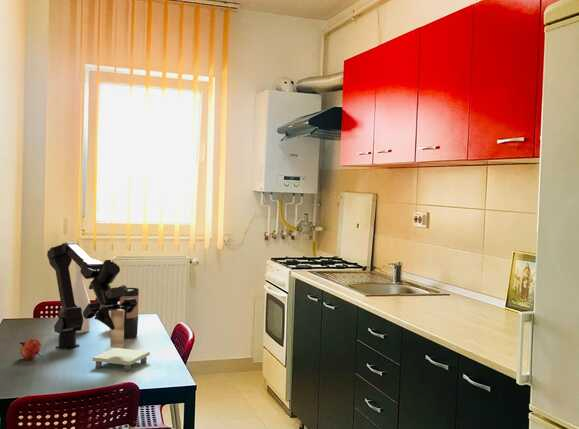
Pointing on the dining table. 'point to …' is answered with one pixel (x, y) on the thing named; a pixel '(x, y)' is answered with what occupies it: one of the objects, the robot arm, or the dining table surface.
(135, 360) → the peg shelf
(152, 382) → the dining table surface
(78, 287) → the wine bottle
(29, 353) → the pomegranate
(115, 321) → the post
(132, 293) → the travel mug
